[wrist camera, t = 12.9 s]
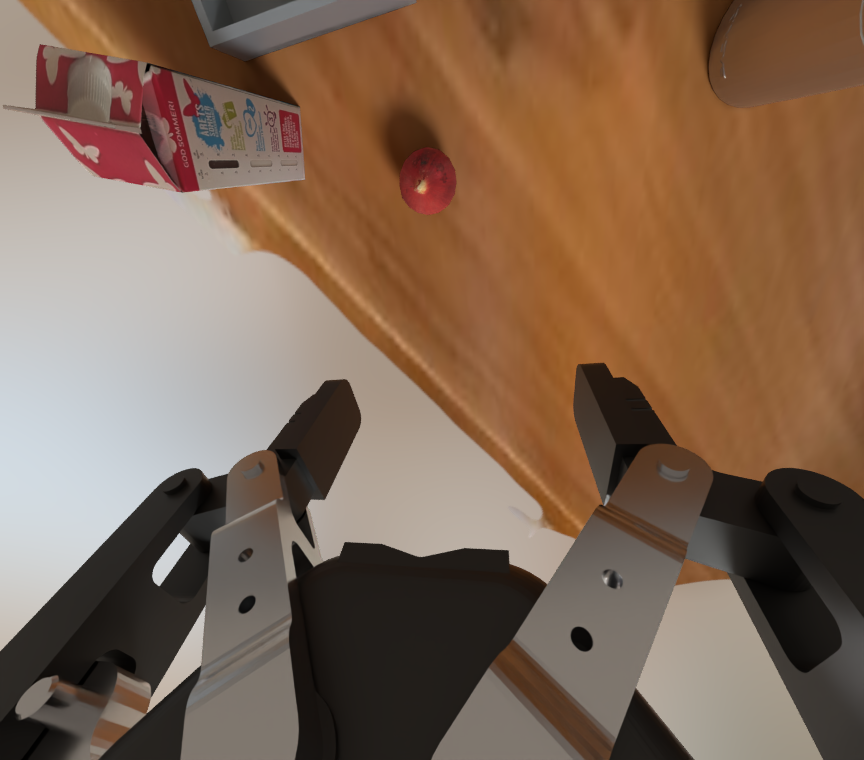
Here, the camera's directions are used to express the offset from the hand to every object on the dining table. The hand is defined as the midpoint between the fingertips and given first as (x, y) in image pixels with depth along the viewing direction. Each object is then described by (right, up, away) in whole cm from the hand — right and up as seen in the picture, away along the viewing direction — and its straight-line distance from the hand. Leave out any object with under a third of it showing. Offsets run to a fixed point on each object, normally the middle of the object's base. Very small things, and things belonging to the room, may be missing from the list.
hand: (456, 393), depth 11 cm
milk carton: (-19, +27, +25) cm, 41 cm away
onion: (-1, +23, +25) cm, 34 cm away
